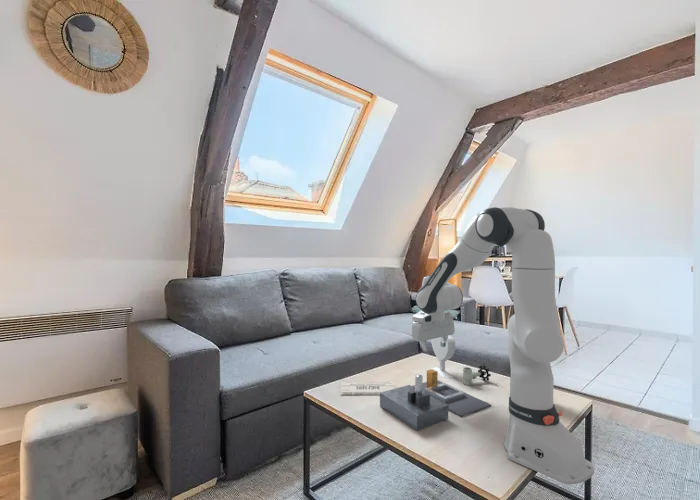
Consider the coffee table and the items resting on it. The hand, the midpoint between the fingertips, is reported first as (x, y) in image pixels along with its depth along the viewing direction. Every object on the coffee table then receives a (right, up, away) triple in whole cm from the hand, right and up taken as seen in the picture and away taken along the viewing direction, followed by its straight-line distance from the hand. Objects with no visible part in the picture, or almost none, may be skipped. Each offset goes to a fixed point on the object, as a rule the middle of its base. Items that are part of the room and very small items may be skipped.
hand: (434, 348), depth 147 cm
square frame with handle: (+2, -16, -4) cm, 17 cm away
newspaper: (-28, -18, +1) cm, 33 cm away
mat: (+3, -17, -6) cm, 18 cm away
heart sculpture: (+8, -17, +20) cm, 27 cm away
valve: (+19, -17, +8) cm, 27 cm away
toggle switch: (-12, -17, -19) cm, 29 cm away
